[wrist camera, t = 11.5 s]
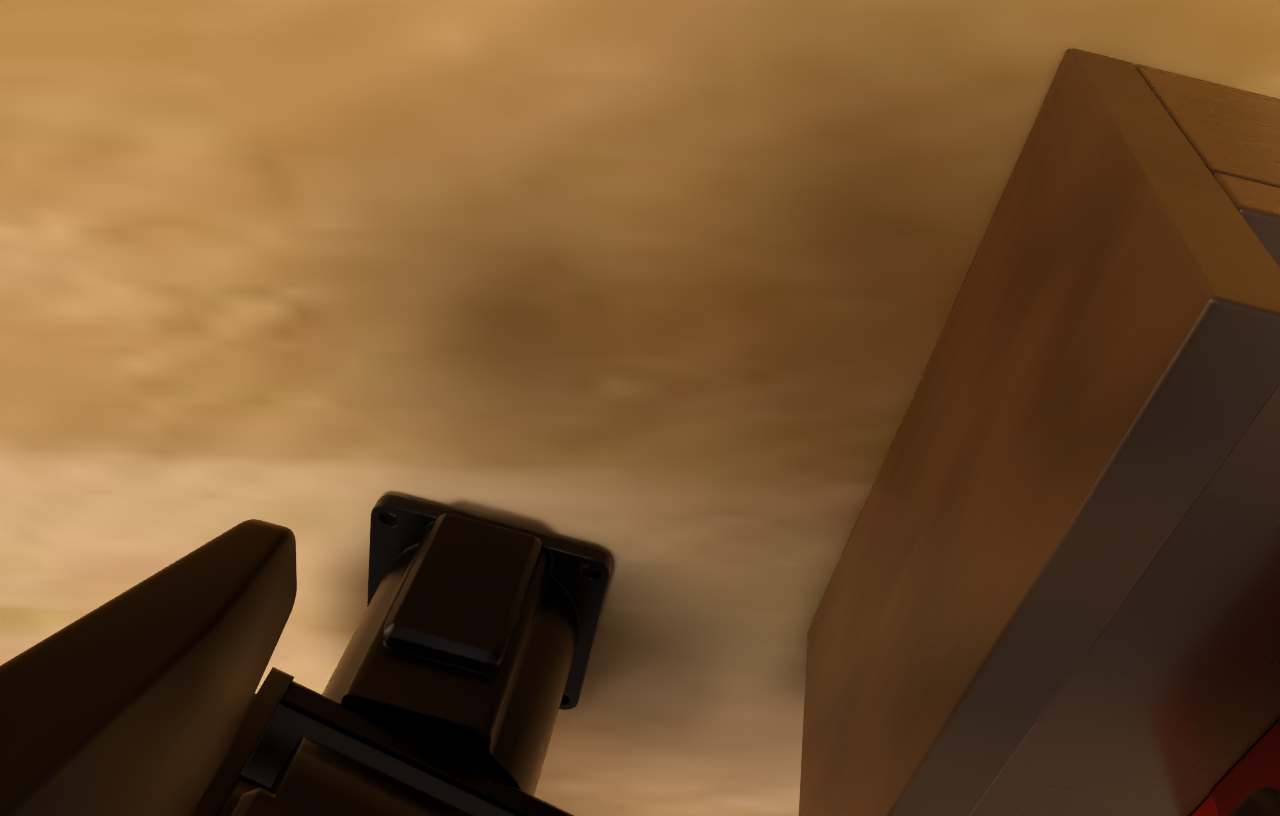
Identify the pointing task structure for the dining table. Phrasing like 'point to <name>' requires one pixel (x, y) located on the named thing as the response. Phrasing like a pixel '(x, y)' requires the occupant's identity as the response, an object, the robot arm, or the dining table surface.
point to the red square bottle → (1246, 776)
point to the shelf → (1077, 486)
